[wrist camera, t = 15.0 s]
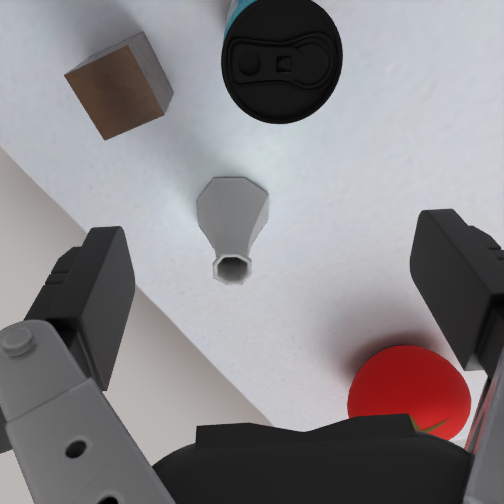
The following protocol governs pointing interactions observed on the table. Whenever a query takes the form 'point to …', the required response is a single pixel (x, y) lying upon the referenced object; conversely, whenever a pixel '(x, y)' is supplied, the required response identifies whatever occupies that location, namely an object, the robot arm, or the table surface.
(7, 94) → the table surface
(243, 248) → the flask
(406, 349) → the tomato
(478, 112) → the table surface
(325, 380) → the table surface
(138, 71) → the walnut block
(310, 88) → the beverage can
